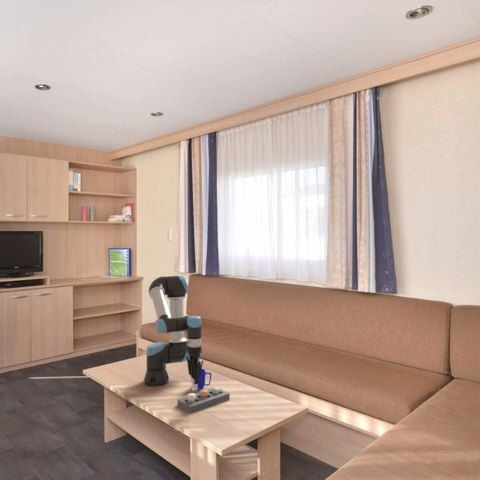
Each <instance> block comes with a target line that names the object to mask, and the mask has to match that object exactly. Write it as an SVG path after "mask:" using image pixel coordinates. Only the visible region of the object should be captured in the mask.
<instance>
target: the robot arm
mask: <svg viewBox="0 0 480 480" xmlns="http://www.w3.org/2000/svg"><path fill="white" fill-rule="evenodd" d="M188 293H189V285H188V281H187V278H186V277H185V275H184V276H183V275H171V276H159V277H157V278H155V279H154V280H153V281H152V282H151V283H150V285H149V287H148V294H149V297H150V299H151V300H152V303H153V307H154V311H155V314H156V318H157V319H156V320H155V332H156V333H157V334H169V333H170V339H169V340H168V343H167V344H166V343H165V342H163V341H161V342H160V341H158V342H154V343H151V344H149V345H148V346H147V347H146V355H145V356H146V371H145V374H144V378H143V384H144V386H147V387H160V386H163V385H166V384H168V383H169V381H170V377H169V373H168V371H167V365H169V364H175V363H176V364H177V363H183V362H184V363H185V362H187V370H188V375H189V376H190V378H191V390H192V391H197V390H199V389H198V378H199V377H201V370H202V369H203V364H204V361H203V360H201V353H202V317H201V316H199V315H188V314H187V315H184V313H185V312H184V309H185V308H184V299H185V298H186V295H187V294H188ZM166 298H167V299H168V300H169V305H168V302H167V299H166ZM185 332H187V333H186V335H187V336H186V337H187V338H186V337H185Z"/></svg>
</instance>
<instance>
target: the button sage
mask: <svg viewBox="0 0 480 480" xmlns="http://www.w3.org/2000/svg"><path fill="white" fill-rule="evenodd" d="M211 389H212V394H213V395H218V394H220V389H221V388H220V386H219V387H218V386H214V387H212V388H211Z"/></svg>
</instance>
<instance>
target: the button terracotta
mask: <svg viewBox="0 0 480 480" xmlns="http://www.w3.org/2000/svg"><path fill="white" fill-rule="evenodd" d="M208 390H209V389H206V388H205V389H204V388H202V389H199V392H200V397H201V398H207V397H208Z"/></svg>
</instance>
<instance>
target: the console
mask: <svg viewBox="0 0 480 480" xmlns="http://www.w3.org/2000/svg"><path fill="white" fill-rule="evenodd" d="M207 390H208V397H207V398H201V397H200V391H199V392H197V393H195V394H196V401H195V402H188V401H187V396H184V397H180V398H177V406H179V407H180V409H181V408H182V409H183V410H184V411H186V412H187V413H194V412H196V411H199V410H202V409H205V408H207V407H211V406H213V405H216V404H218V403H221V402H224V401H227V400H228V401H229V400H231V399H230V393H229V392H228V391H226V390H223V389H222V388H220V394H218V395H213V394H212V388H209V389H207Z"/></svg>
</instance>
